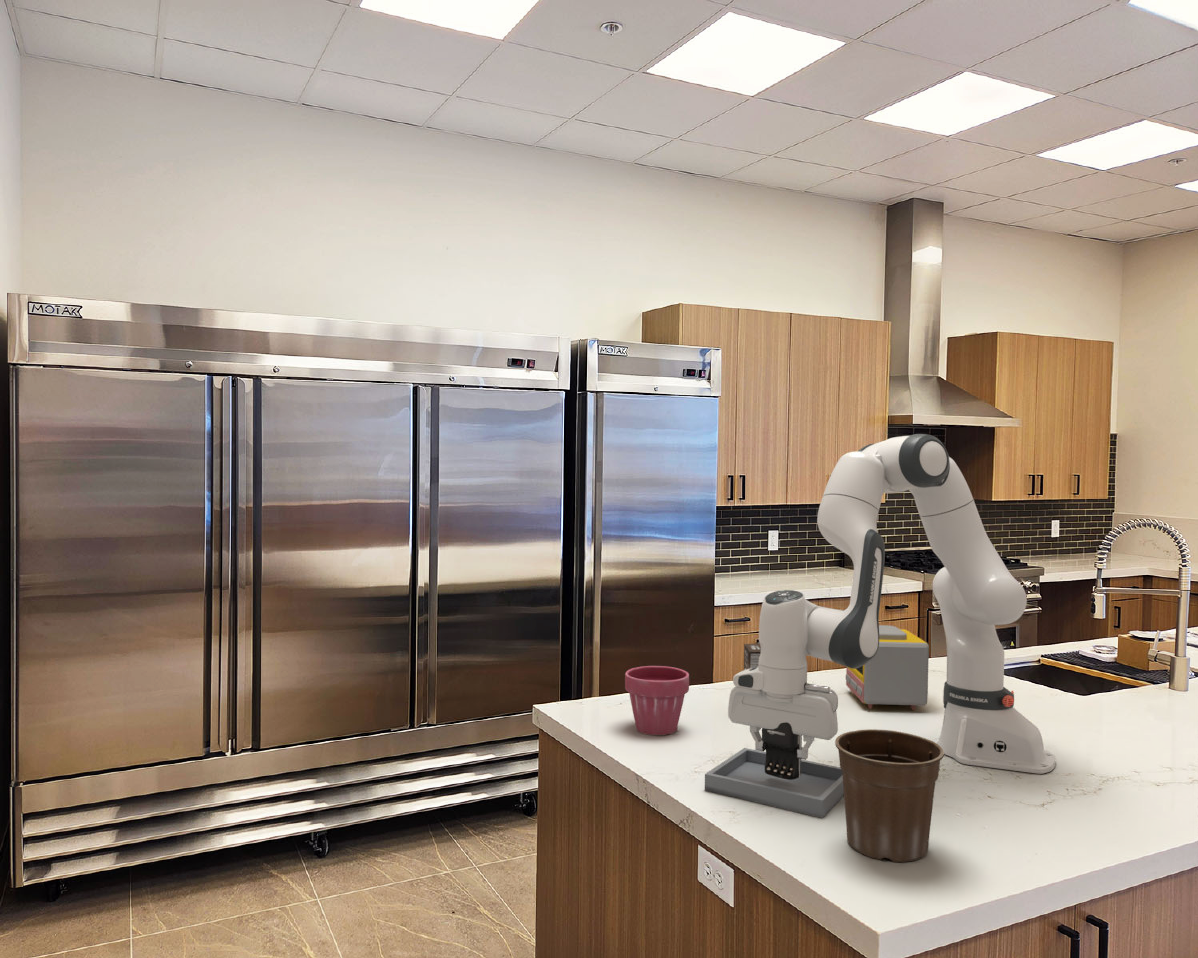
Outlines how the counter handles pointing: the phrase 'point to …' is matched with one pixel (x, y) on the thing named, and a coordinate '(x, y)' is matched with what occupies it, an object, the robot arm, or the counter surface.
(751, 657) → the coffee box
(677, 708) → the plant pot
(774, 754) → the battery charger
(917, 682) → the alarm clock
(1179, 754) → the counter surface
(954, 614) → the robot arm
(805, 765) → the tray
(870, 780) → the plant pot
